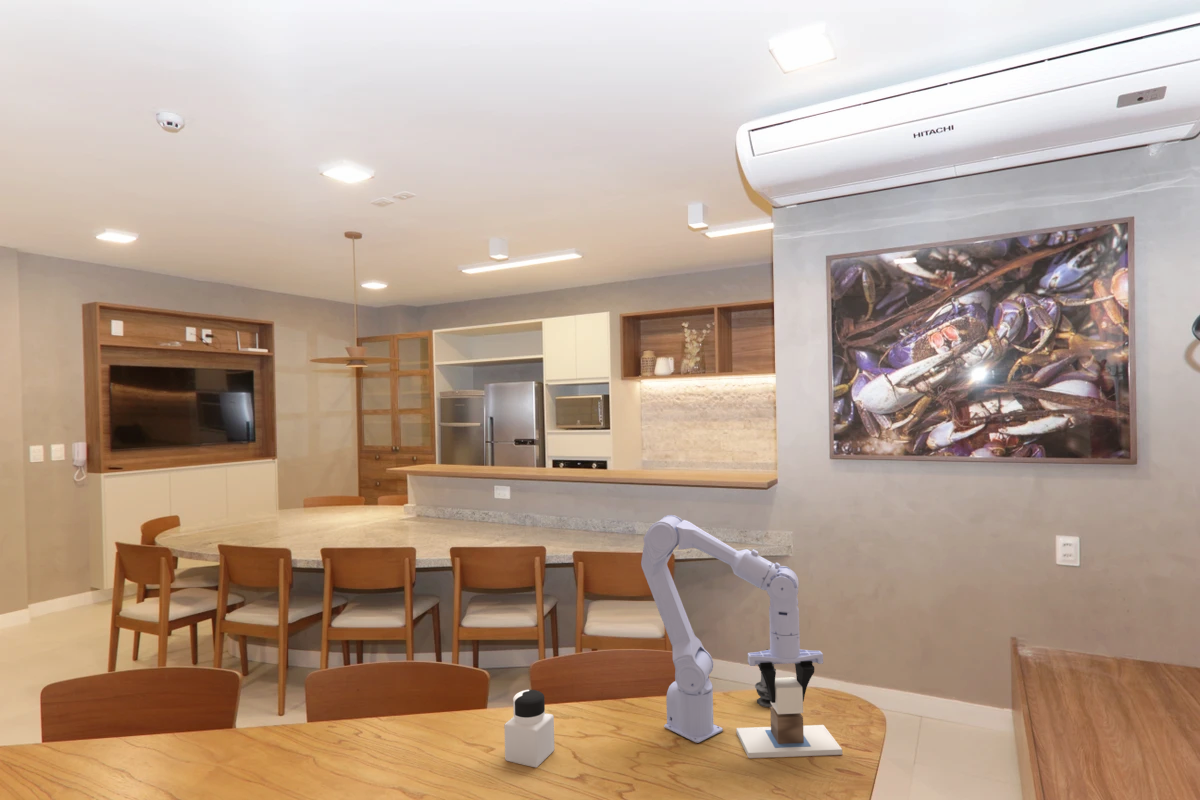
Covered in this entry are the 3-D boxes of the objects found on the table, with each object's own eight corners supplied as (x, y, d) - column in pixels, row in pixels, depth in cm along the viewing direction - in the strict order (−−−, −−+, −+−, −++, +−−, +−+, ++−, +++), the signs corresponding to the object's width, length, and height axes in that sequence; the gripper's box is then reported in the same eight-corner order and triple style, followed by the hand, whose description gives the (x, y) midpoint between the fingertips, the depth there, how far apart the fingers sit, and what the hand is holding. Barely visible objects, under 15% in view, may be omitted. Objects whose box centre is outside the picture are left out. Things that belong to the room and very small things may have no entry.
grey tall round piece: (785, 708, 149) (783, 653, 149) (758, 708, 149) (756, 653, 149) (778, 696, 155) (777, 644, 155) (752, 697, 155) (751, 644, 155)
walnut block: (778, 743, 131) (777, 717, 131) (771, 731, 136) (770, 706, 136) (803, 743, 131) (803, 717, 131) (795, 730, 136) (795, 705, 136)
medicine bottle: (555, 750, 133) (553, 689, 133) (536, 768, 126) (535, 704, 126) (523, 744, 136) (522, 683, 136) (504, 761, 129) (503, 698, 129)
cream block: (777, 714, 131) (776, 688, 131) (770, 703, 136) (769, 678, 136) (803, 713, 131) (802, 687, 131) (795, 701, 136) (794, 677, 136)
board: (748, 758, 128) (748, 752, 128) (736, 732, 138) (736, 727, 138) (842, 754, 129) (842, 748, 129) (823, 729, 139) (823, 724, 139)
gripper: (813, 623, 138) (815, 690, 138) (743, 625, 137) (745, 692, 137) (826, 635, 131) (828, 705, 131) (751, 637, 130) (753, 708, 130)
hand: (786, 700), depth 133 cm, fingers closed on cream block, 5 cm apart
